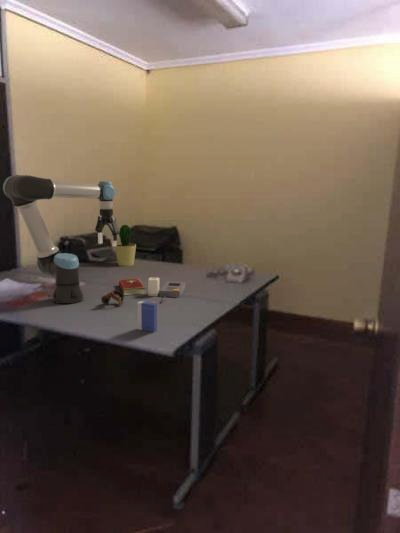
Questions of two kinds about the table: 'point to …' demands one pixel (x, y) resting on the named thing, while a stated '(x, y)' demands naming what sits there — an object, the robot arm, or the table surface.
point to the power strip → (172, 289)
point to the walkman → (147, 316)
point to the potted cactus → (125, 247)
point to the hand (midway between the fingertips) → (107, 244)
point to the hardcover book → (131, 286)
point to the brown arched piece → (113, 294)
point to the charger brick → (153, 287)
